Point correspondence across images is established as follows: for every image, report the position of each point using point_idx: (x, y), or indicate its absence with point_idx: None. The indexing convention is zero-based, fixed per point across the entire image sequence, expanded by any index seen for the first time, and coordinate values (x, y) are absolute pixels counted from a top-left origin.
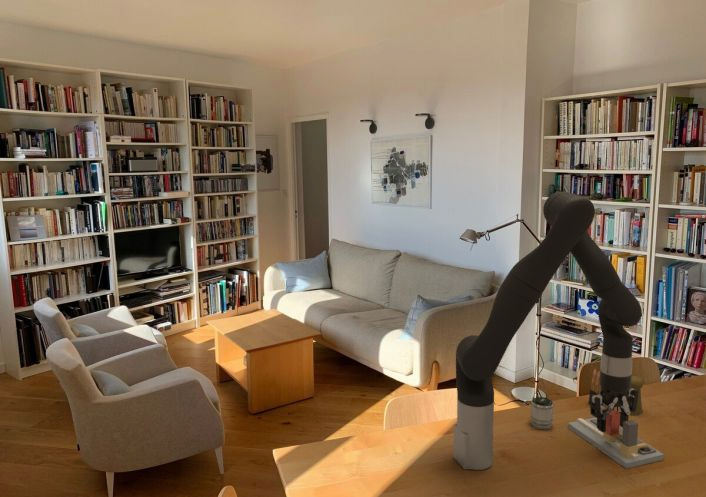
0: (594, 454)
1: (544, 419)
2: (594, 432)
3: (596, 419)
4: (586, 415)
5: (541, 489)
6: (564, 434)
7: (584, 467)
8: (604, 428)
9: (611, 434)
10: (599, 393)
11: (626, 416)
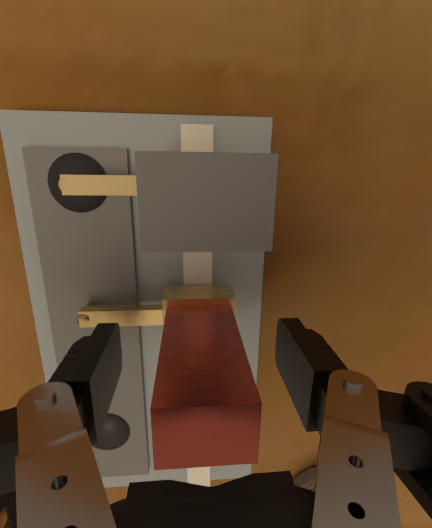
0: (302, 270)
1: None
2: None
3: (119, 471)
4: None
5: None
6: (295, 422)
7: (421, 202)
8: (300, 329)
9: (223, 308)
10: None
11: (81, 375)
